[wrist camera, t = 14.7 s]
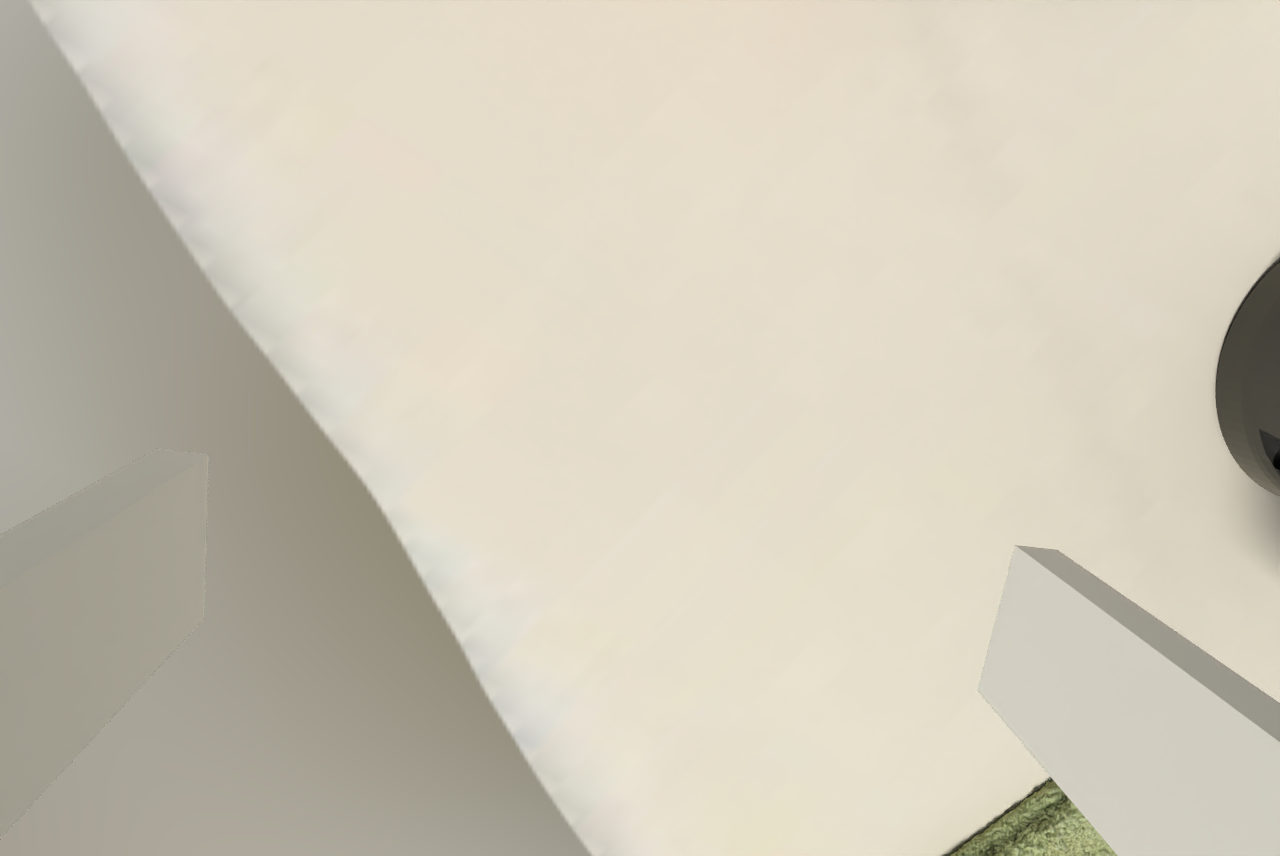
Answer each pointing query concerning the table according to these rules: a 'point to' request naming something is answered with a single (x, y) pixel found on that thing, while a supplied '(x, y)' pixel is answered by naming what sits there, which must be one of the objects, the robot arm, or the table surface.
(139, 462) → the robot arm
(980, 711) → the table surface
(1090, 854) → the washcloth
